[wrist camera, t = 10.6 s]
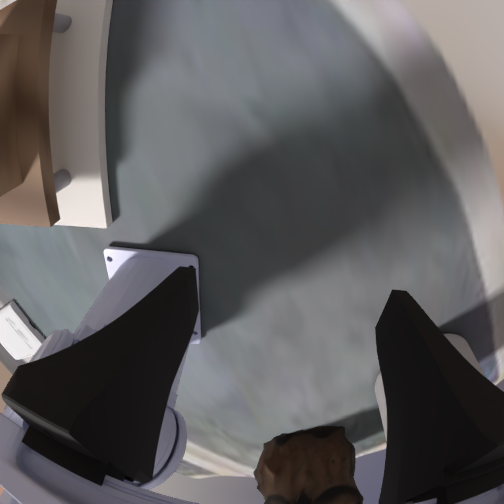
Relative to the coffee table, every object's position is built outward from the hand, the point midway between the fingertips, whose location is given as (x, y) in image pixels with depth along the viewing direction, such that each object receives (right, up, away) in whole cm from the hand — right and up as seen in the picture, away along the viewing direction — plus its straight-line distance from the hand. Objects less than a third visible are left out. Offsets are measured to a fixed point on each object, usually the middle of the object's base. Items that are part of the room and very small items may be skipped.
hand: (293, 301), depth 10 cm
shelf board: (-18, +11, +2) cm, 21 cm away
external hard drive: (-35, -9, +20) cm, 41 cm away
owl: (+7, -28, +28) cm, 40 cm away
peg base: (-18, +13, +6) cm, 23 cm away
